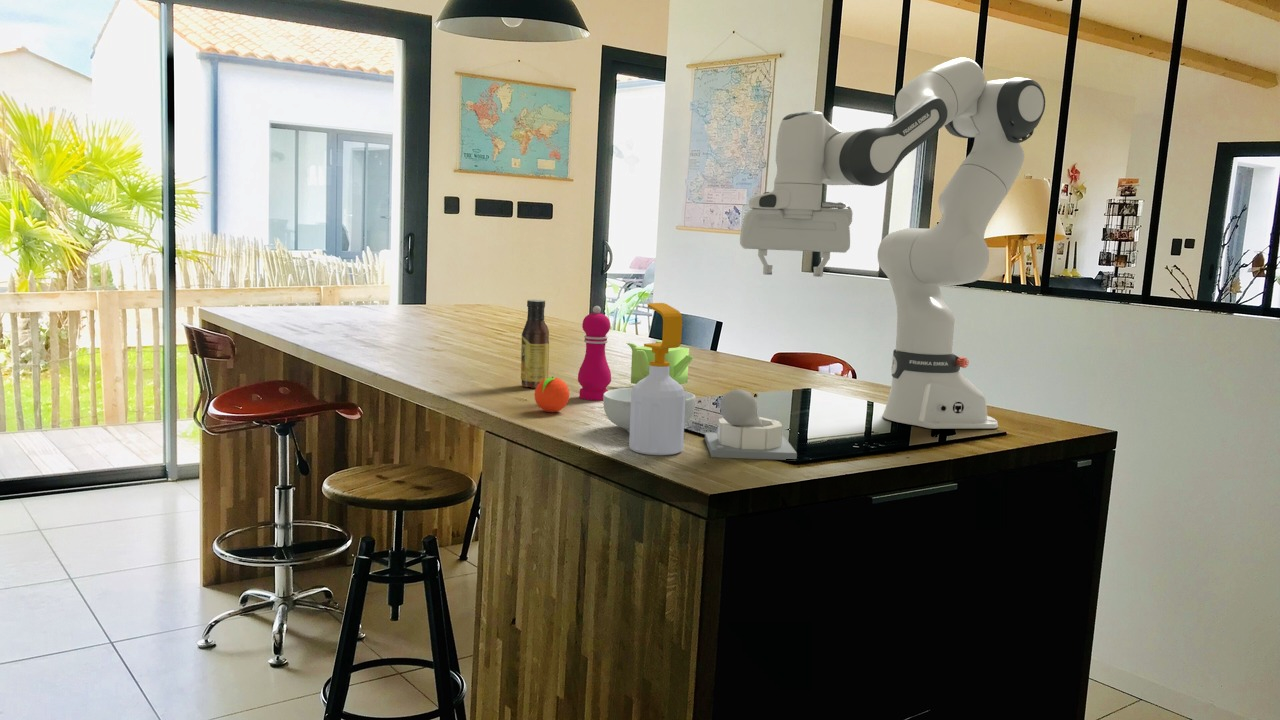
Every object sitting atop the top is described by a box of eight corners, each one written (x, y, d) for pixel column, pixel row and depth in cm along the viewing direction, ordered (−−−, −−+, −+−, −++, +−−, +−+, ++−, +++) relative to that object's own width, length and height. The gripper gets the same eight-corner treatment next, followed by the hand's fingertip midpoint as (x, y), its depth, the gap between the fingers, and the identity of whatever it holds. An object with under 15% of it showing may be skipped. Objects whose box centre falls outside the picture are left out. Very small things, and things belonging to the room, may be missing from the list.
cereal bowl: (648, 419, 191) (650, 383, 190) (712, 434, 179) (714, 396, 178) (583, 429, 179) (584, 391, 178) (647, 445, 167) (648, 405, 166)
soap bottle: (656, 441, 170) (662, 301, 167) (693, 451, 164) (701, 305, 160) (617, 448, 164) (623, 302, 161) (655, 458, 158) (662, 306, 154)
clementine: (558, 417, 188) (559, 381, 188) (525, 414, 191) (526, 378, 190) (574, 410, 196) (575, 375, 195) (542, 407, 198) (543, 372, 197)
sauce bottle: (524, 383, 227) (526, 298, 224) (550, 385, 226) (553, 299, 223) (517, 388, 220) (519, 300, 217) (544, 389, 219) (546, 301, 217)
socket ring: (775, 437, 172) (776, 417, 172) (784, 450, 162) (785, 429, 162) (715, 434, 172) (716, 415, 172) (721, 448, 162) (722, 427, 161)
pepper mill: (617, 398, 212) (620, 306, 210) (598, 402, 206) (601, 307, 204) (589, 394, 216) (592, 303, 214) (570, 398, 210) (573, 305, 208)
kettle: (635, 394, 219) (637, 344, 217) (620, 384, 232) (621, 337, 231) (698, 393, 222) (701, 344, 221) (680, 384, 236) (682, 337, 235)
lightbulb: (780, 420, 168) (748, 378, 162) (774, 447, 164) (741, 405, 158) (749, 427, 171) (717, 386, 166) (743, 454, 167) (710, 413, 161)
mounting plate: (782, 441, 174) (783, 433, 174) (796, 460, 160) (797, 451, 160) (704, 439, 174) (705, 430, 174) (711, 457, 160) (711, 448, 160)
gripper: (849, 203, 184) (844, 277, 186) (740, 198, 183) (737, 272, 185) (857, 202, 178) (851, 278, 179) (744, 197, 177) (740, 274, 179)
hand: (792, 275), depth 182 cm, fingers open, 8 cm apart
